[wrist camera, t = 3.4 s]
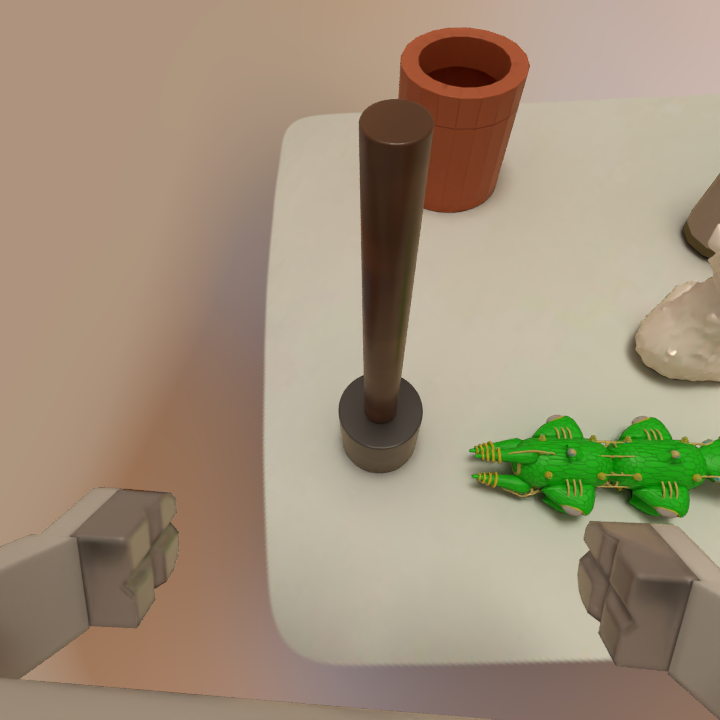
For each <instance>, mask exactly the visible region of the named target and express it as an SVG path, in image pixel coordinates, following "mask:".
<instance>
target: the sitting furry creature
mask: <svg viewBox="0 0 720 720" xmlns="http://www.w3.org/2000/svg"><path fill="white" fill-rule="evenodd" d="M708 246H709V248H710V249H712V250H713V251H714V252H715V253H716V254H715V255H714V256H713V257H711V258H709V259H708V260H707V261H708V262H709V263H710V264H711V266H712V269H713V277H710V278H709V279H707V280H706V281H705V282H702V283H699V282H698V281H690V282H687V283H685V284H683V285H681V286H675V287H674V289H673V291H672V292H671V293H669V294H668V295H667V296H666V298H665V299H664V300H663V301H662V302H661V303H660V304H658V305H657V306H656V307H655V308H654V309H653V310H652V311H651V313H650V314H648V315H646V319H644V320H643V321H641V323H640V329H639V330H638V331H637V333H636V335H635V339H636V349H635V350H636V352H637V353H639V355H640V356H641V357H642V361H643V363H644V364H645V365H646V366H647V367H650V368H652V369H654V370H655V371H656V372H658V373H659V374H660V375H663V376H666V377H668V378H669V379H674V378H678V379H679V380H685V379H687V380H690V381H697V380H699V381H701V382H703V381H706V380H712V381H717V382H720V224H718V225H717V227H716V228H715V230H714V232H713V234H712V236H711V237H710V239H709V241H708Z"/></svg>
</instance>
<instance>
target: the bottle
mask: <svg viewBox="0 0 720 720" xmlns="http://www.w3.org/2000/svg"><path fill="white" fill-rule="evenodd" d="M718 224H720V174H719V175H718V176H717V178H716V179H715V180H714V182H713V183H712V184H711V186H710V187H709V188H708V190H707V191H706V192H705V194H704V195H703V196H702V198H701V199H700V200H699V202H698V203H697V204H696V206H695V207H694V208H693V210H692V211H691V213H690V216H689V218H688V220H687V222H686V224H685V226H684V228H683V231H684V233H685V236H686V239H687V242H688V243H689V244H690V245H691V246H692V247H694V248H695V249H696V250H697V251H698V252H699V253H700V254H701V255H704V256H706V257H709V258H711V257H713V256H714V255H715V254H716V253H715V252H714V251H713V250H712V249H710V248H709V246H708V241H709V239H710V237H711V236H712V234H713V232H714V230H715V228H716V227H717V225H718Z"/></svg>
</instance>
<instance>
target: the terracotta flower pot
mask: <svg viewBox="0 0 720 720" xmlns="http://www.w3.org/2000/svg"><path fill="white" fill-rule="evenodd" d="M400 64H401V65H400V81H399V82H400V83H399V98H398V99H402V100H408V101H412V102H415V103H418V104H420V105H422V106H423V107H425V108H426V109H427V110H428V111H429V112H430V113H431V115H432V117H433V120H434V130H433V138H432V145H431V153H430V161H429V168H428V176H427V183H426V191H425V199H424V206H423V208H426V209H429V210H433V211H439V212H458V211H464V210H468V209H471V208H474V207H476V206H478V205H480V204H481V203H483V202H484V201H485V200H487V199H488V198H489V197H490V195H491V194H492V192H493V191H494V188H495V185H496V182H497V179H498V175H499V172H500V168H501V165H502V161H503V158H504V154H505V151H506V147H507V144H508V140H509V137H510V134H511V130H512V127H513V123H514V120H515V116H516V113H517V109H518V106H519V102H520V99H521V95H522V92H523V88H524V85H525V82H526V78H527V75H528V71H529V67H530V64H529V61H528V58H527V55H526V53H524V51H523V50H522V49H521V48H520V47H519V46H518V45H517V44H516V43H515V42H513V41H511V40H510V39H508V38H506V37H504V36H501V35H498V34H496V33H493V32H490V31H486V30H480V29H473V28H445V29H440V30H434V31H431V32H429V33H426V34H424V35H421V36H419V37H417V38H415V39H414V40H413V41H412V42H410V43H409V44H408V45H407V46H406V48H405V50H404V52H403V54H402V55H401V63H400Z"/></svg>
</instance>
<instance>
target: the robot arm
mask: <svg viewBox="0 0 720 720" xmlns="http://www.w3.org/2000/svg"><path fill="white" fill-rule="evenodd" d="M176 513H177V508H176V499H175V497H174V496H173V495H172V493H167V492H155V491H144V490H132V489H121V488H105V487H99V488H93V489H92V490H91V491H90V492H89V493H87V494H86V495H85V496H84V497H83V498H82V499H80V500H79V501H78V502H77V503H76V504H75V505H73V507H71V508H70V509H69V510H68V511H67V512H66V513H64V514H63V515H62V516H61V517H60V518H58V519H57V520H56V521H55V522H54V523H53V524H52V525H50V526H49V527H48V528H47V529H46V530H45V531H43V532H42V533H41V534H40V535H36V534H31V535H28V536H26V537H23V538H21V539H18V540H15V541H13V542H10V543H8V544H5V545H3V546H0V720H496V719H485V718H472V717H460V716H449V715H437V714H424V713H413V712H401V711H389V710H377V709H365V708H353V707H341V706H329V705H317V704H305V703H293V702H280V701H268V700H257V699H256V700H255V699H245V698H244V699H243V698H233V697H221V696H209V695H198V694H184V693H174V692H163V691H151V690H139V689H127V688H115V687H104V686H92V685H80V684H68V683H56V682H45V681H33V680H21V679H20V678H21V677H23V676H24V675H26V674H27V673H28V672H30V671H31V670H33V669H34V668H35V667H37V666H38V665H40V664H41V663H42V662H44V661H45V660H46V659H48V658H49V657H51V656H52V655H53V654H55V653H56V652H58V651H59V650H60V649H62V648H63V647H64V646H66V645H67V644H69V643H70V642H71V641H73V640H74V639H76V638H77V637H78V636H80V635H81V634H83V633H84V632H85V631H87V630H88V629H89V626H102V627H122V628H137V627H138V626H139V624H140V623H141V621H142V620H143V618H144V616H145V615H146V613H147V612H148V610H149V609H150V607H151V605H152V604H153V602H154V601H155V591H154V589H155V588H157V587H159V586H160V585H162V584H164V583H165V582H166V581H167V580H168V578H169V577H170V575H171V573H172V571H173V569H174V566H175V563H176V560H177V557H178V551H179V532H178V531H177V529H176V528H175V527H174V526H173V524H172V523H171V522H170V521H171V520H172V519H173V517H174V516H175V514H176ZM584 541H585V543H586V545H587V546H588V548H589V551H588V552H587V553H586V554H585V555H584V556H583V557H582V558H581V559H580V561H579V568H578V574H577V576H578V587H579V593H580V596H581V599H582V602H583V604H584V606H585V608H586V610H587V612H588V613H589V614H590V615H591V616H593V617H594V618H595V619H596V620H598V621H599V622H600V627H599V632H598V633H599V635H600V637H601V639H602V641H603V643H604V645H605V647H606V648H607V650H608V652H609V654H610V656H611V658H612V660H613V662H614V664H615V665H616V666H621V667H630V668H639V669H649V670H659V671H667V672H668V675H670V676H671V677H672V678H673V679H674V680H675V681H676V682H677V683H679V684H680V685H681V686H682V687H683V688H684V689H685V690H687V692H689V693H690V694H691V695H692V696H693V697H694V698H695V699H697V700H698V701H699V702H700V703H701V704H702V705H703V706H704V707H705V708H707V709H708V710H709V711H710V712H711V713H712V714H713V715H714V716H716V717H717V718H718V719H719V720H720V568H719V567H718V566H717V565H716V564H715V563H714V562H713V561H712V560H711V559H710V558H709V557H708V556H707V555H706V554H705V553H704V552H703V551H702V550H701V549H700V548H699V547H698V546H697V545H696V544H695V543H694V542H693V541H692V540H691V539H690V538H689V537H688V536H687V535H686V534H685V533H684V532H683V531H682V530H681V529H680V528H679V527H677V526H675V525H673V524H660V523H625V522H601V521H590V522H589V524H588V525H587V527H586V530H585V535H584Z"/></svg>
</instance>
